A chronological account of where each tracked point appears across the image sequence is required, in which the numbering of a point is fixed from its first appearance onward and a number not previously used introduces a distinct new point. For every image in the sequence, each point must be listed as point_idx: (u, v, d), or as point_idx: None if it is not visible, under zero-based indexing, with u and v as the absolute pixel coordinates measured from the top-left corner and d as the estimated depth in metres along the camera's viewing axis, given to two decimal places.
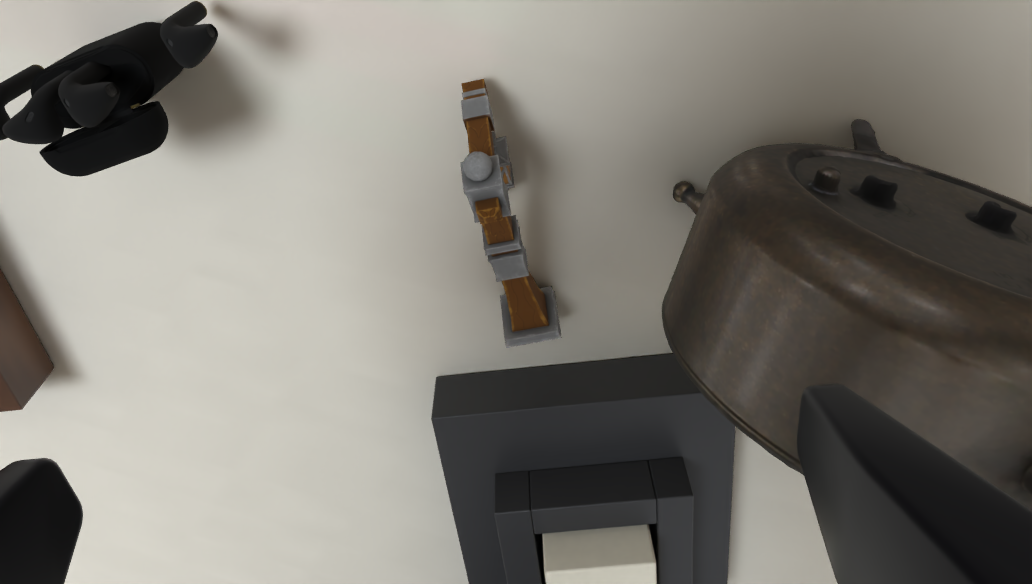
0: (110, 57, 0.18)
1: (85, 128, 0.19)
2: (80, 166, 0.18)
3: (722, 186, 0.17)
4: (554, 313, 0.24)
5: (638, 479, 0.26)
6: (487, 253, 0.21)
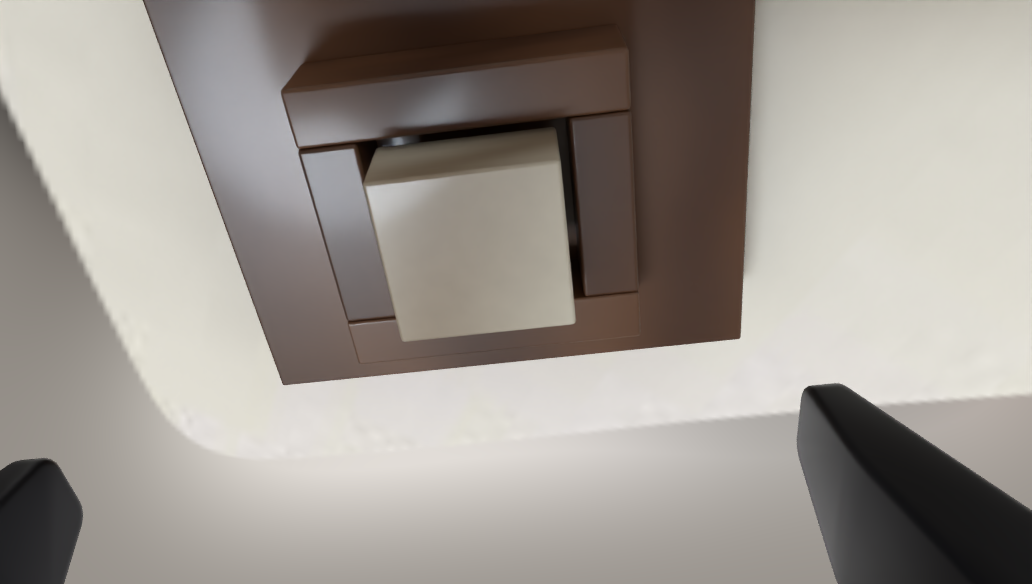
0: None
1: None
2: None
3: None
4: None
5: None
6: None
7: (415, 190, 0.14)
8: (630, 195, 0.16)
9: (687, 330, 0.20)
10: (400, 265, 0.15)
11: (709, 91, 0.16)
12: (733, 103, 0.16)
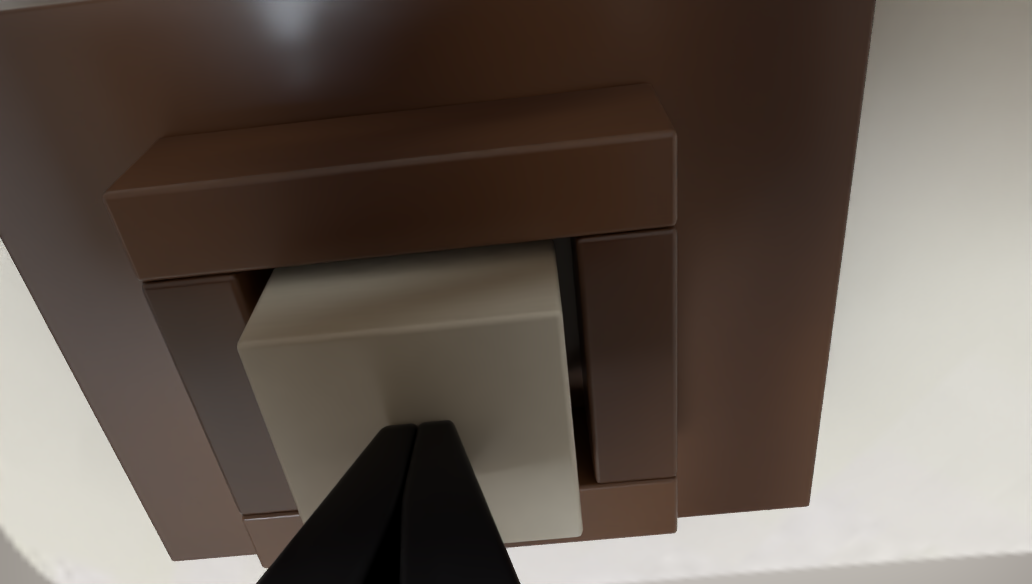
0: None
1: None
2: None
3: None
4: None
5: None
6: None
7: (323, 356, 0.09)
8: (671, 350, 0.10)
9: (736, 496, 0.14)
10: (306, 460, 0.09)
11: (788, 181, 0.11)
12: (823, 199, 0.11)
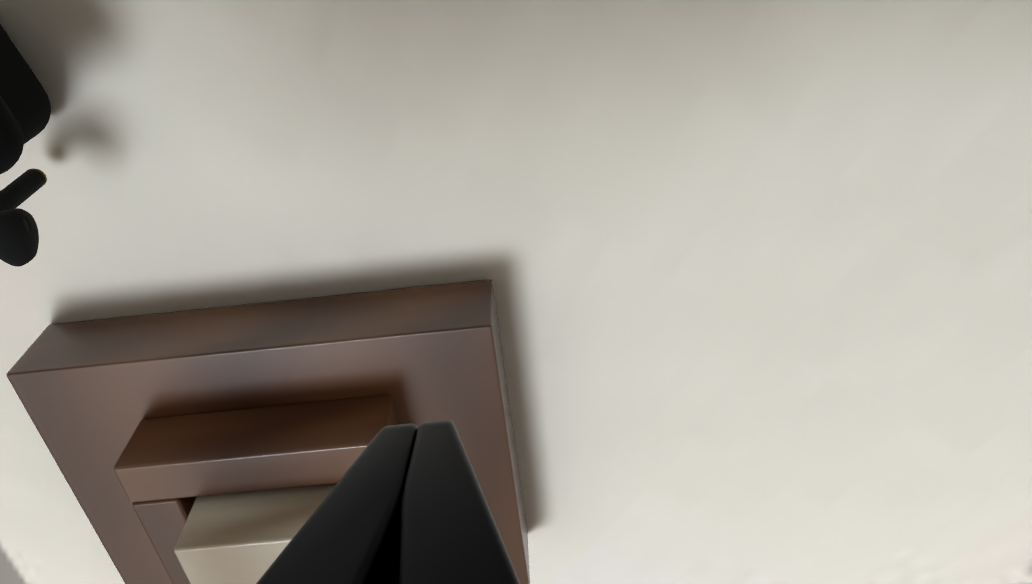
0: None
1: None
2: None
3: None
4: None
5: None
6: None
7: (215, 553, 0.18)
8: None
9: None
10: None
11: (473, 434, 0.20)
12: (494, 441, 0.21)
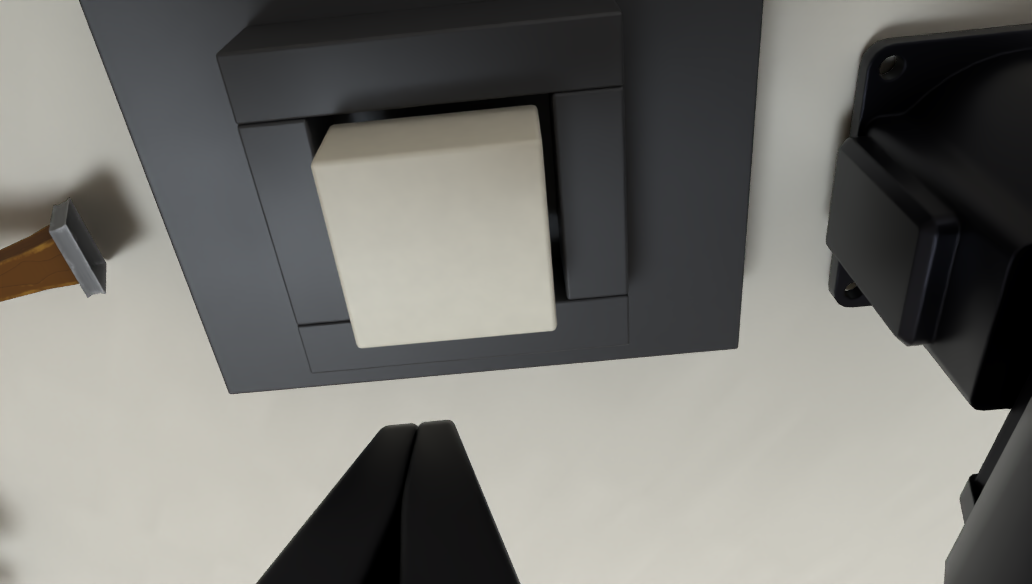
0: None
1: None
2: None
3: None
4: (52, 221, 0.17)
5: None
6: None
7: None
8: None
9: None
10: None
11: None
12: None
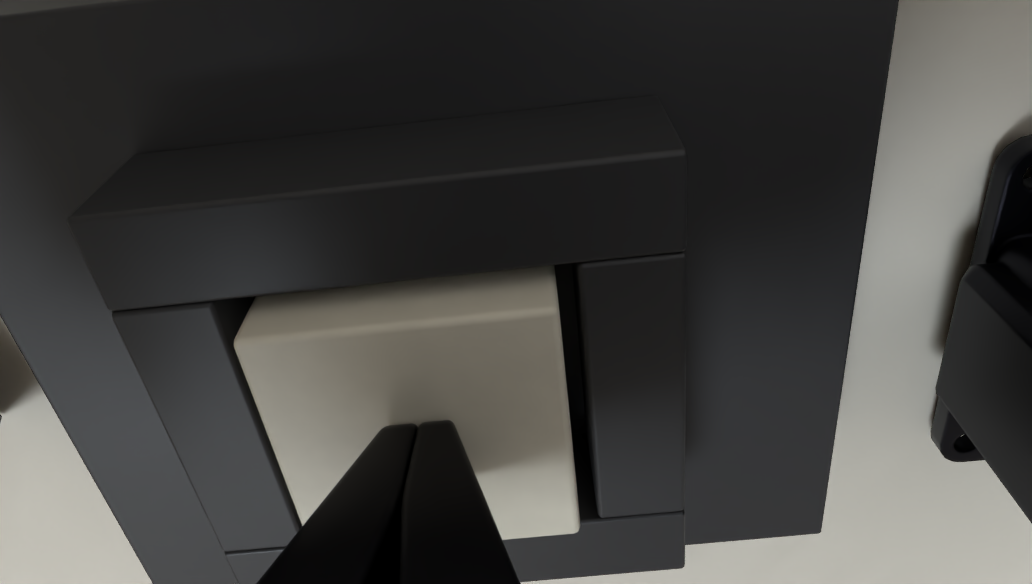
0: None
1: None
2: None
3: None
4: None
5: None
6: None
7: None
8: None
9: None
10: None
11: None
12: None
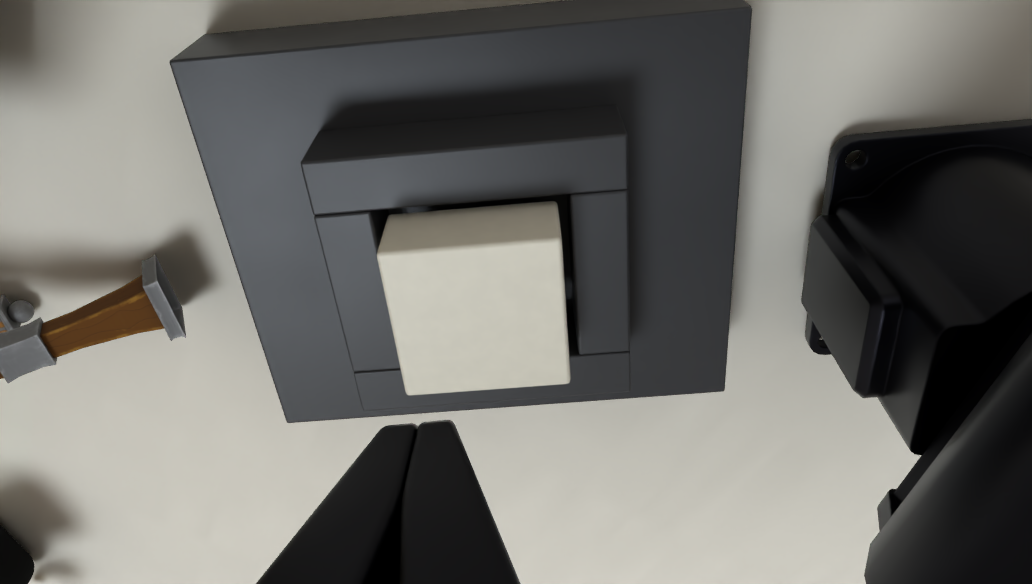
0: None
1: None
2: None
3: None
4: (143, 276, 0.20)
5: None
6: None
7: None
8: None
9: None
10: None
11: None
12: None
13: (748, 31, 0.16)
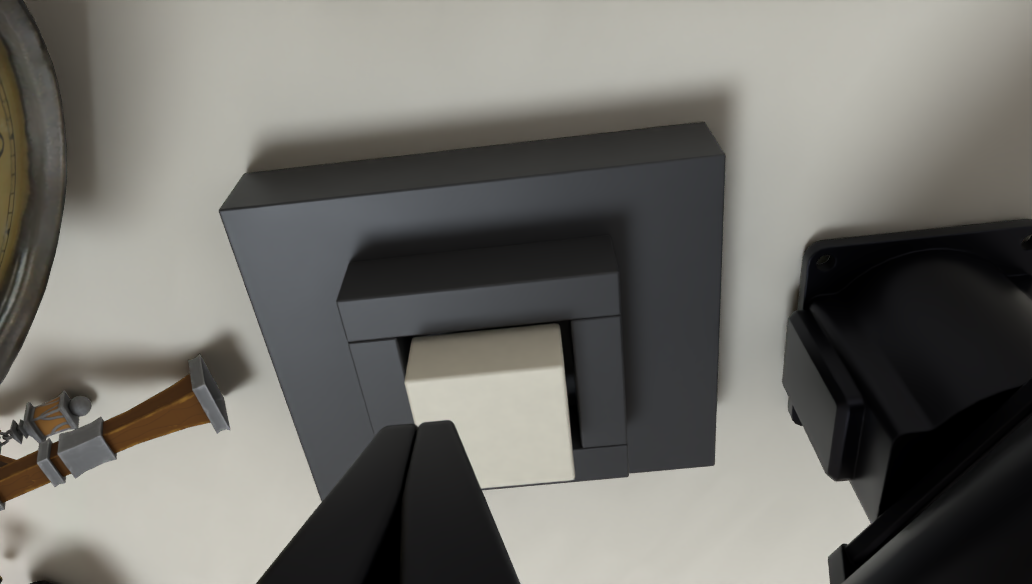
0: None
1: None
2: None
3: None
4: (191, 378, 0.22)
5: None
6: (61, 482, 0.22)
7: None
8: None
9: None
10: None
11: None
12: None
13: (723, 173, 0.18)
